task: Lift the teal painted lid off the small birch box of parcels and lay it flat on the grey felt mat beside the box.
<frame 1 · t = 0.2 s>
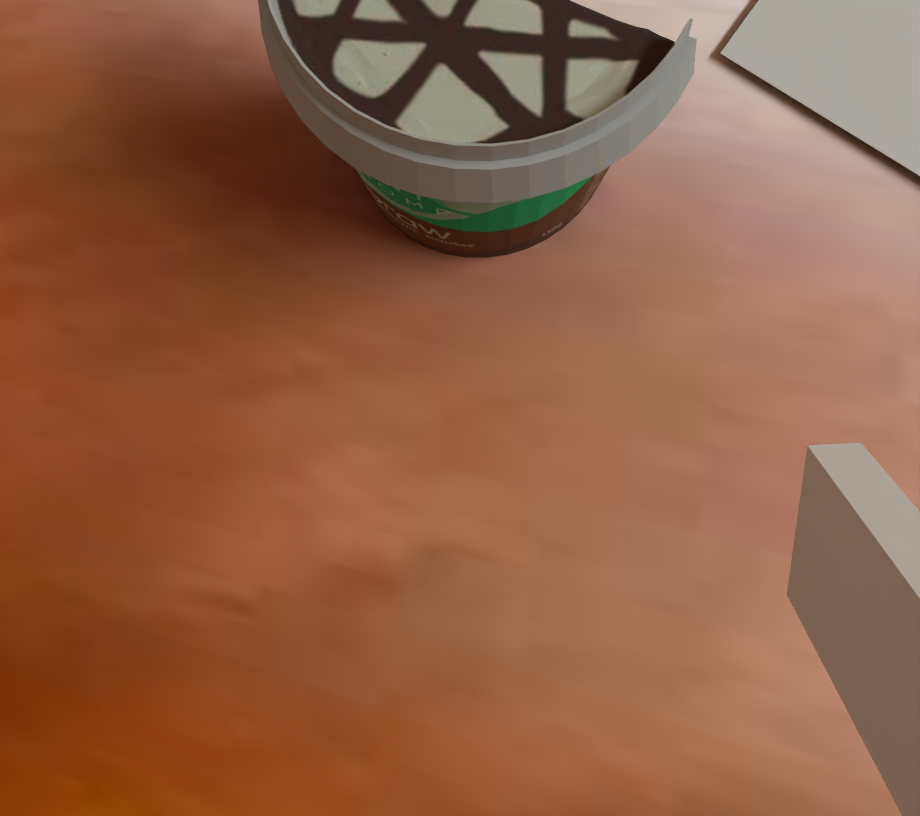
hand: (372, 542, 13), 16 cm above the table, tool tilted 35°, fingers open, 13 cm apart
food container: (449, 203, 31), on the table
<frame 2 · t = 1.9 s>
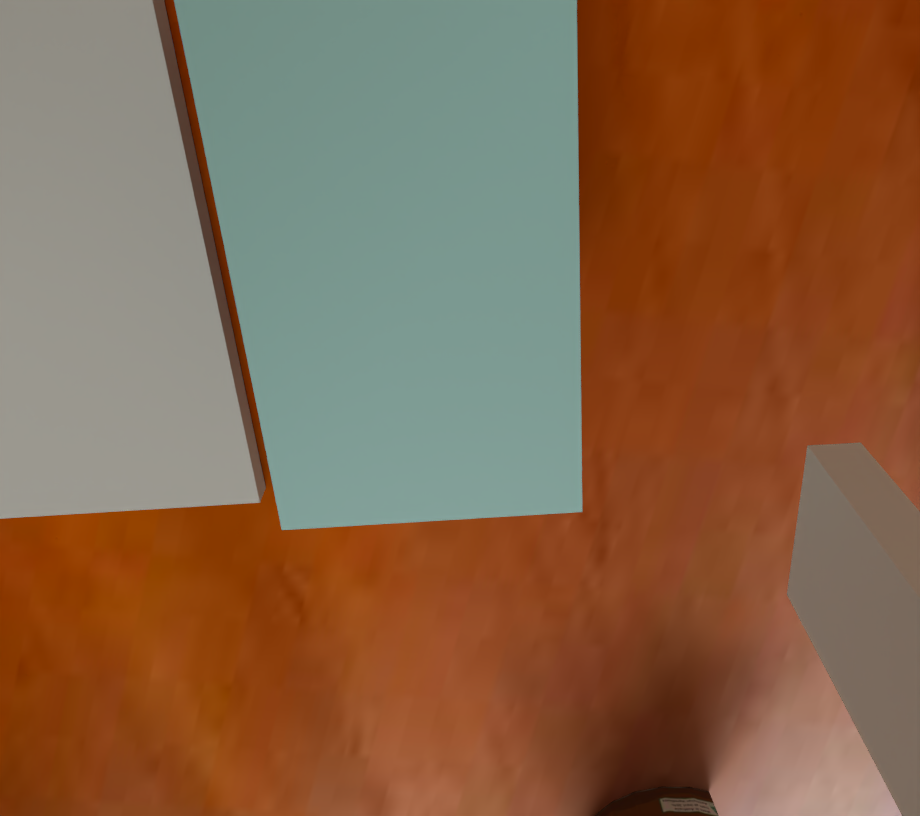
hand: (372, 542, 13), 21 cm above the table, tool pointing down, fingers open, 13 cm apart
lid: (407, 258, 25), point 7 cm above the table, touching box
mat: (70, 281, 33), on the table
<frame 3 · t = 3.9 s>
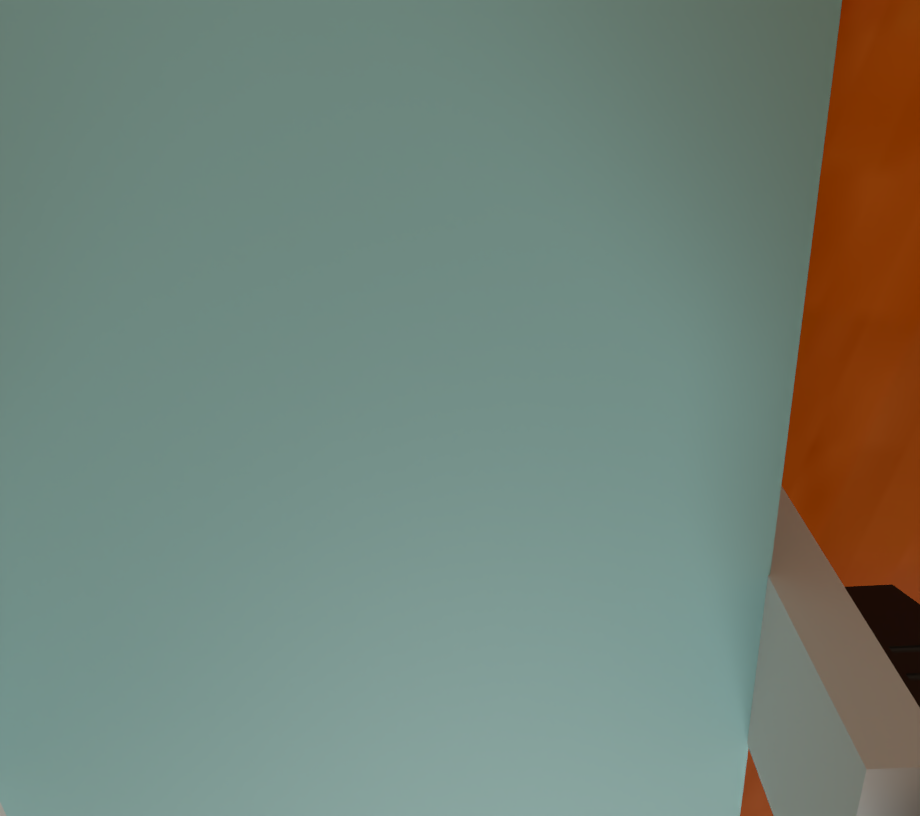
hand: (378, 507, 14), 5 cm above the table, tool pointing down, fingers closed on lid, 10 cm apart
lid: (363, 597, 12), point 7 cm above the table, touching box, gripper
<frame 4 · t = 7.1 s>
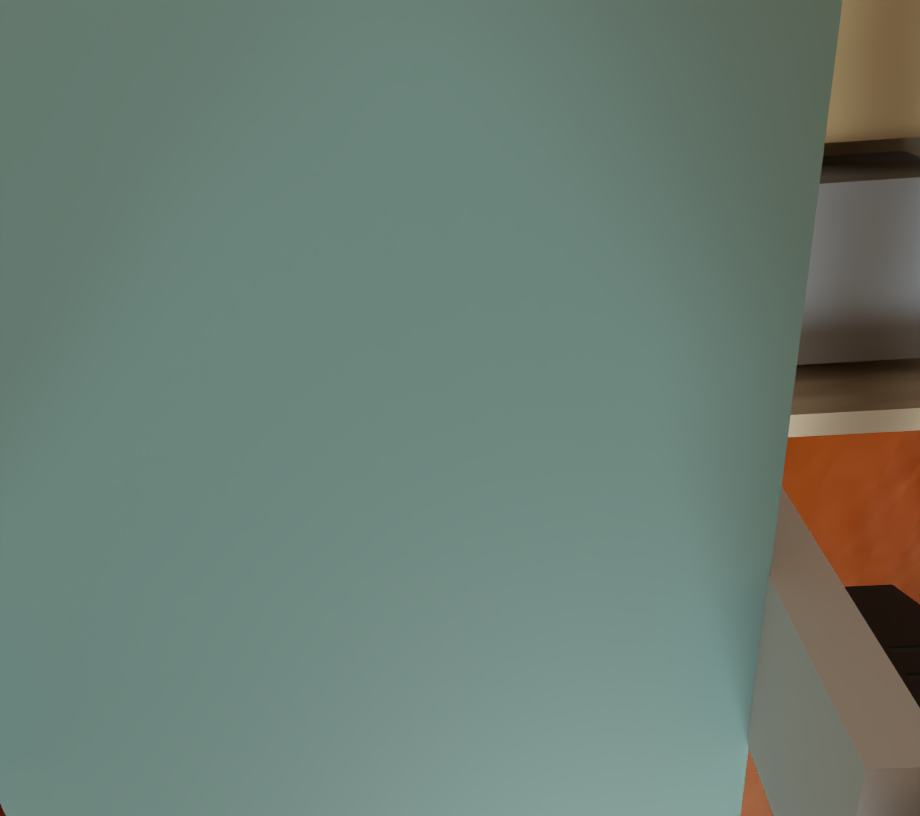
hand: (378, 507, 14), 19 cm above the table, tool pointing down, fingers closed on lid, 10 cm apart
lid: (362, 595, 12), point 21 cm above the table, touching gripper
box: (820, 137, 29), on the table
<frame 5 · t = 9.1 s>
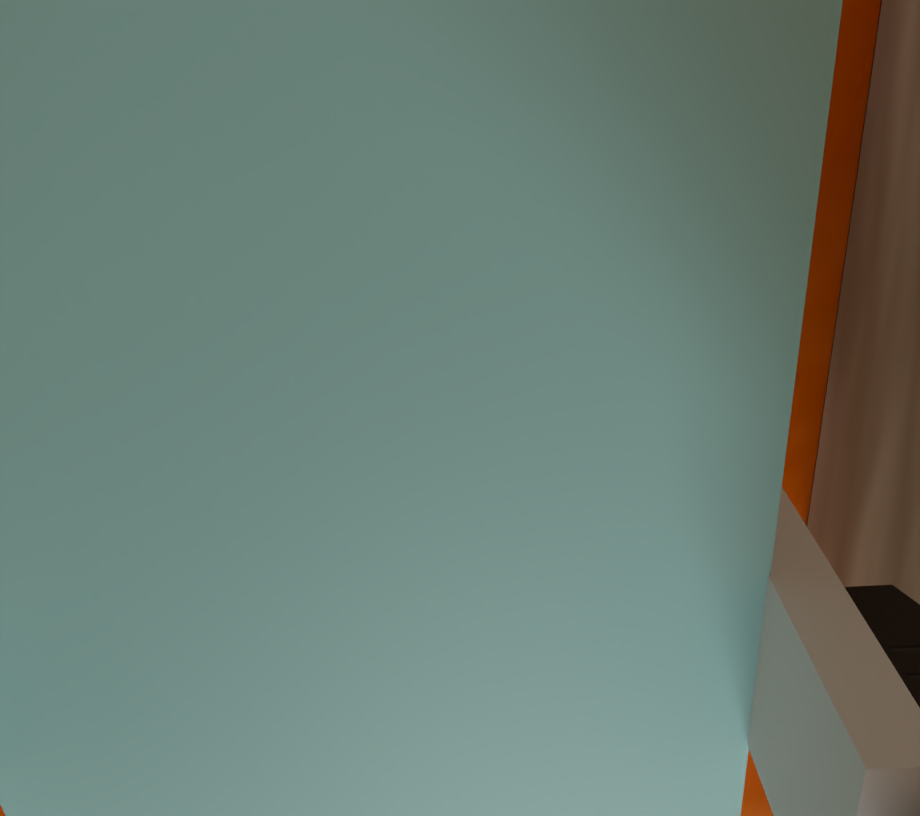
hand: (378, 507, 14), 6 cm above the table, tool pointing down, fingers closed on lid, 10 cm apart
lid: (362, 595, 12), point 9 cm above the table, touching gripper
when the fingers open (2 cm above the table, at t = 10.6 s): lid drops 3 cm, resting on mat.
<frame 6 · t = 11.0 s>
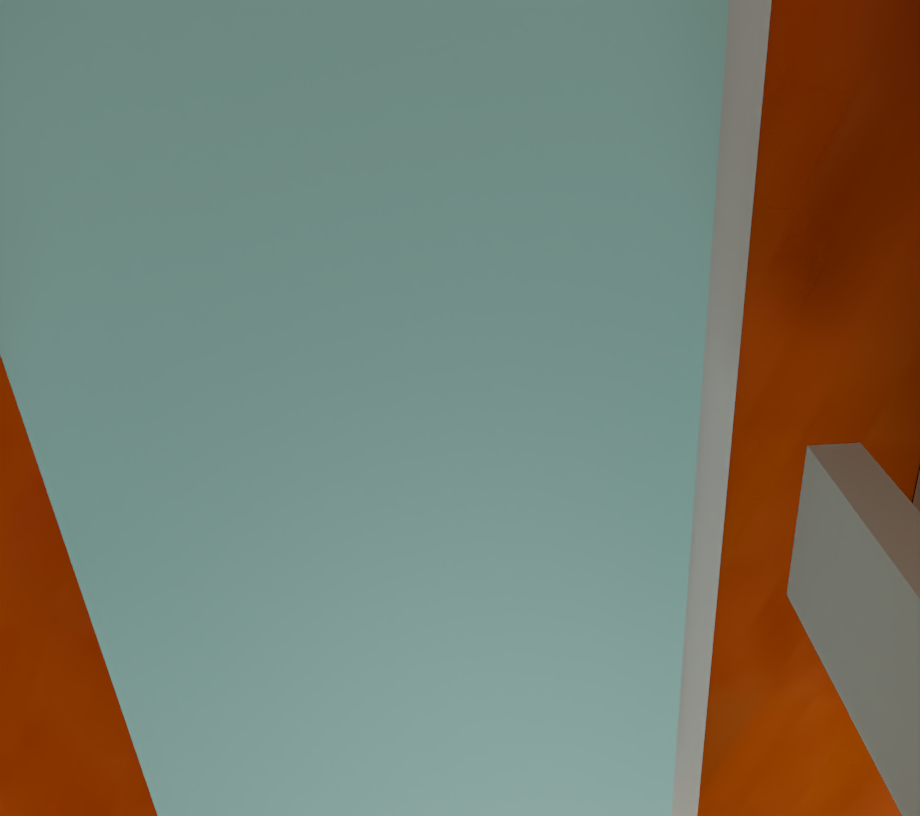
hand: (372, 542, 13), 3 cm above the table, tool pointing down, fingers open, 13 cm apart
lid: (383, 473, 15), point 1 cm above the table, touching mat
mat: (389, 441, 16), on the table
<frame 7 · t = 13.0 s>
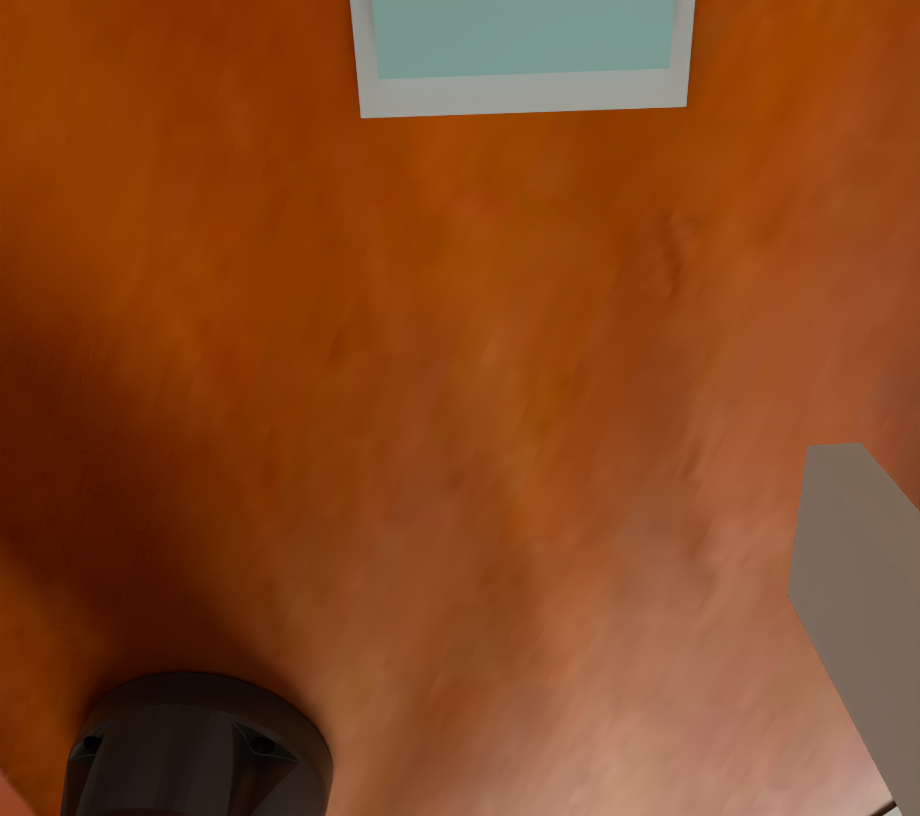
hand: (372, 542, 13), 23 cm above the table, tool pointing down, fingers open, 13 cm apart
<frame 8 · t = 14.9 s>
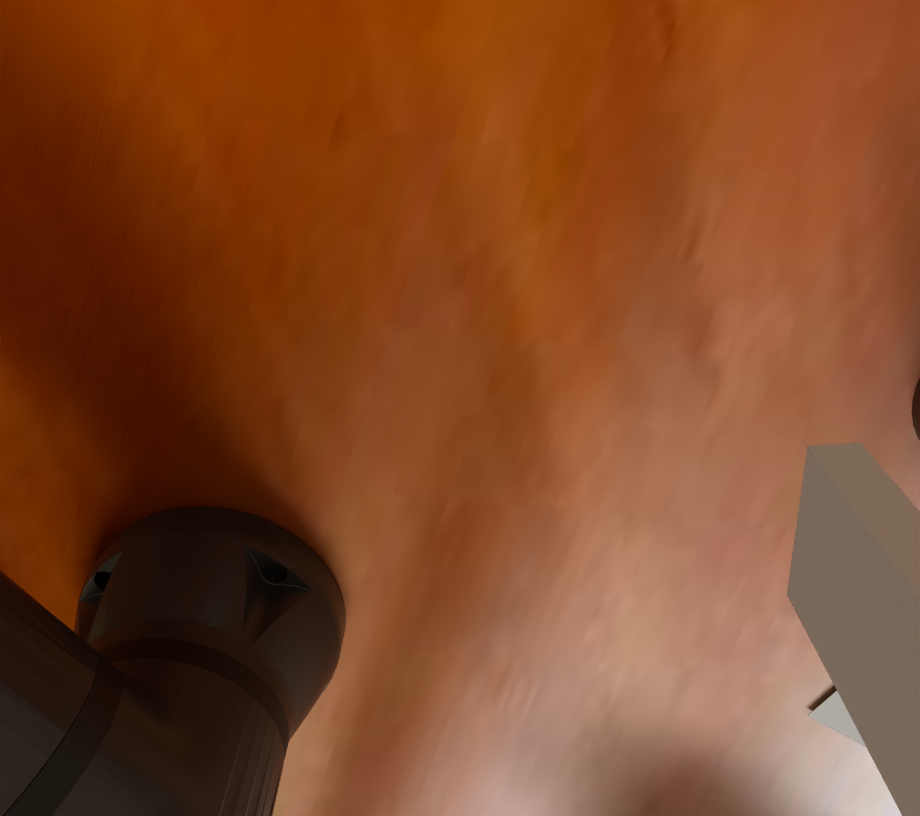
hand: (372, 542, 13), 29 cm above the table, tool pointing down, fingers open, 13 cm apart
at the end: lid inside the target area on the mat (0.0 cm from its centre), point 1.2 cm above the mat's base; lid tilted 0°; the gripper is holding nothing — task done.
